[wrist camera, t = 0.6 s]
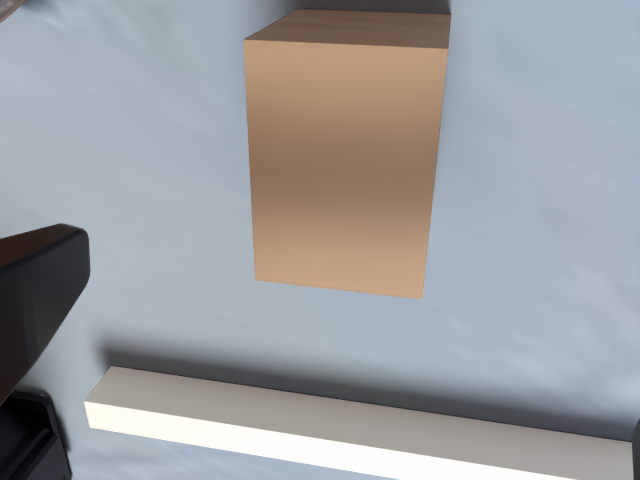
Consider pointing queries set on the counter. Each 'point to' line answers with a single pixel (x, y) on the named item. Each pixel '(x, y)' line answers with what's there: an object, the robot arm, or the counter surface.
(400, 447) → the rail
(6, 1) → the tin
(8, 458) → the robot arm
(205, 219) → the counter surface
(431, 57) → the tea box
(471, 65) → the counter surface
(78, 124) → the counter surface
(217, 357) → the counter surface
